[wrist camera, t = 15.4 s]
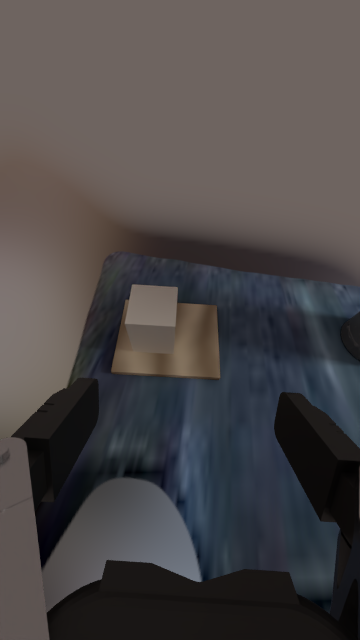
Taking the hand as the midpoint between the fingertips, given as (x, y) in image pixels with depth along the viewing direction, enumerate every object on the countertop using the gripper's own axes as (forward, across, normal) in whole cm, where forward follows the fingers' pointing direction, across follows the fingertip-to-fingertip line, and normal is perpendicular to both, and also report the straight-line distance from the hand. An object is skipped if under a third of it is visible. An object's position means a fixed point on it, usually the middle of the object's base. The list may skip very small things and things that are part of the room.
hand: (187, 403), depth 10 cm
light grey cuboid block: (+26, +4, +6) cm, 27 cm away
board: (+27, +2, +6) cm, 28 cm away
